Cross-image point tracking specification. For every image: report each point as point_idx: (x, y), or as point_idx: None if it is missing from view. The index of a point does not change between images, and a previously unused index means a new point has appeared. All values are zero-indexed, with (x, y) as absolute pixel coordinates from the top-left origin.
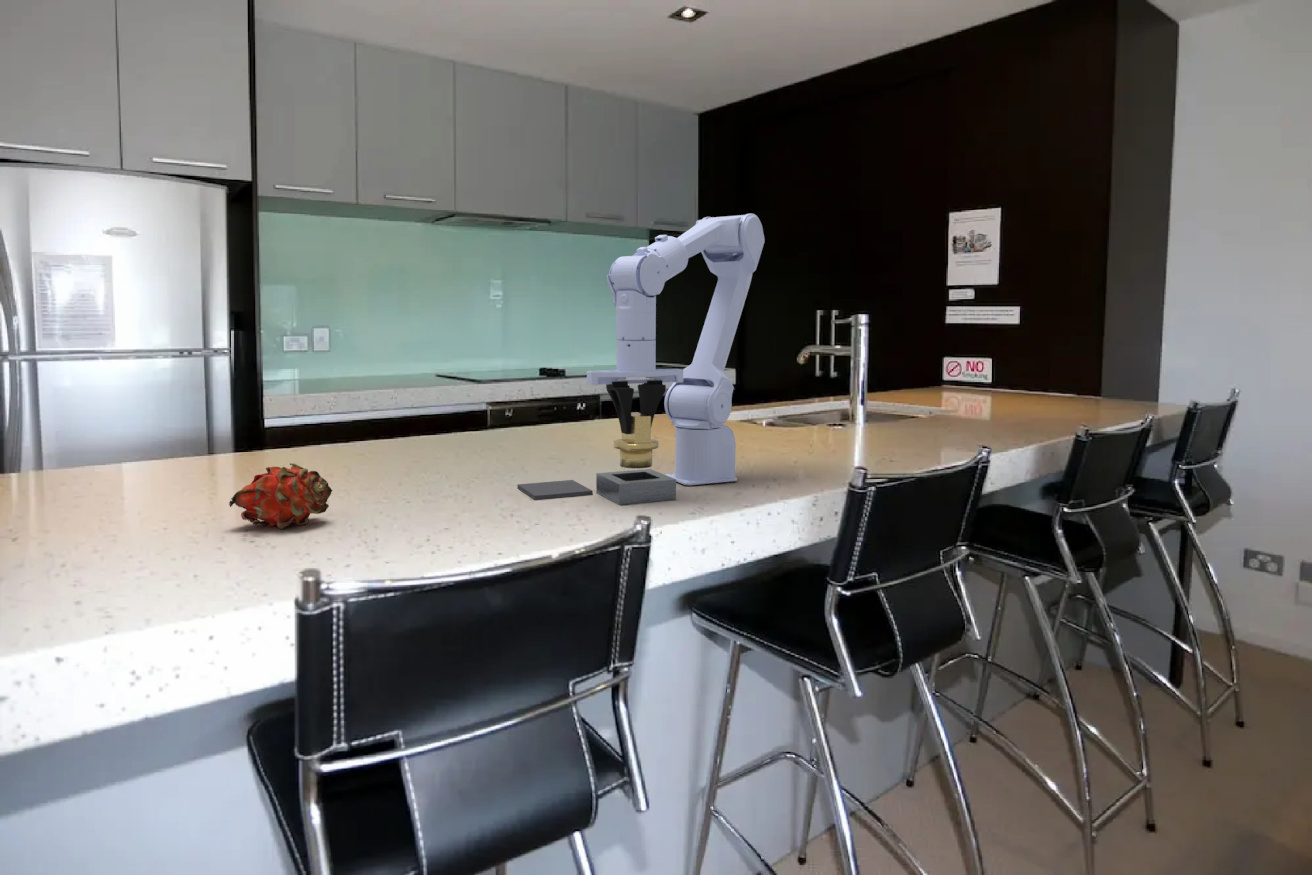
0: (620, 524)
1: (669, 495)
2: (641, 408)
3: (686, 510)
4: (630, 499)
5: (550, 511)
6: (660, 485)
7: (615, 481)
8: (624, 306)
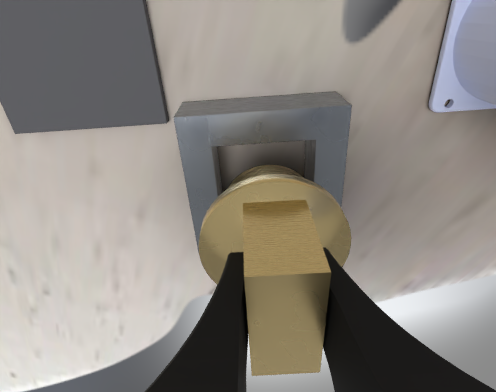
0: (173, 320)
1: None
2: (340, 319)
3: None
4: None
5: (65, 230)
6: None
7: (198, 226)
8: None
